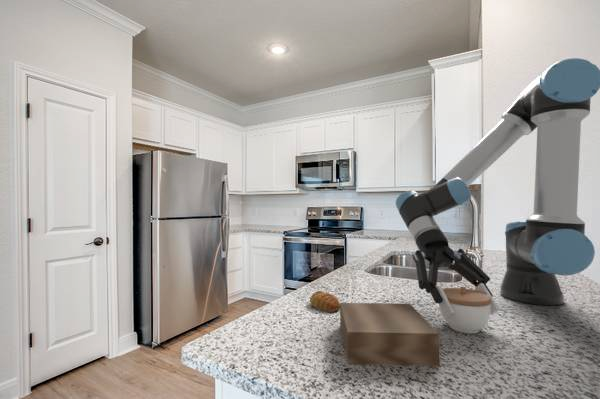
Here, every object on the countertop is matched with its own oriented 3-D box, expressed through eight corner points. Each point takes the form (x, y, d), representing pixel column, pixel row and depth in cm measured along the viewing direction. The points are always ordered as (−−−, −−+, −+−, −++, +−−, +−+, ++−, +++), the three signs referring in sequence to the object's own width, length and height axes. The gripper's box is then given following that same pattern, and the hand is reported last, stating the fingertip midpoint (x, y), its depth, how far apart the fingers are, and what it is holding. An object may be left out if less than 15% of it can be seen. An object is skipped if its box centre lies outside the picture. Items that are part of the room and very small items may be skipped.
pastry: (347, 310, 80) (346, 296, 80) (328, 315, 76) (328, 301, 76) (325, 301, 88) (324, 288, 88) (307, 305, 84) (306, 292, 84)
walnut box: (410, 329, 67) (409, 303, 68) (439, 368, 51) (439, 333, 52) (340, 328, 68) (340, 302, 68) (348, 366, 52) (347, 332, 52)
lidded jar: (501, 340, 61) (500, 295, 61) (445, 336, 63) (444, 292, 63) (480, 320, 72) (479, 282, 72) (433, 317, 74) (432, 280, 74)
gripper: (458, 243, 85) (507, 317, 69) (384, 246, 81) (419, 325, 65) (471, 226, 80) (527, 302, 64) (394, 228, 75) (434, 310, 60)
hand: (473, 314), depth 65 cm, fingers closed on lidded jar, 11 cm apart
